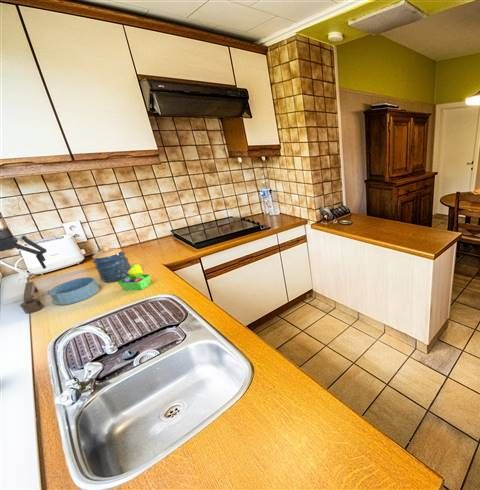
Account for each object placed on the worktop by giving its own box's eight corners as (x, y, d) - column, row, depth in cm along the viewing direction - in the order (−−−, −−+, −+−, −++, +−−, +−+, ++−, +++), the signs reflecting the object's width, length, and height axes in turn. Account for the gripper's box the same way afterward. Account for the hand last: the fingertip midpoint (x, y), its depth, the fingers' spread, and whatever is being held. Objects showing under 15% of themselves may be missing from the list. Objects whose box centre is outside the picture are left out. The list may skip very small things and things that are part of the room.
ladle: (27, 295, 130) (20, 284, 127) (44, 290, 134) (37, 279, 131) (24, 315, 115) (16, 303, 112) (44, 308, 119) (36, 297, 116)
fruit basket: (120, 291, 129) (110, 271, 124) (135, 282, 137) (126, 262, 132) (142, 291, 128) (133, 271, 124) (156, 281, 136) (148, 262, 132)
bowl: (55, 297, 127) (48, 287, 124) (98, 284, 137) (92, 274, 135) (55, 309, 117) (48, 298, 115) (101, 294, 128) (95, 283, 125)
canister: (129, 268, 152) (116, 240, 145) (137, 274, 145) (123, 244, 138) (99, 278, 142) (83, 249, 135) (106, 285, 135) (90, 254, 128)
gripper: (-60, 241, 101) (-25, 288, 110) (38, 223, 118) (62, 265, 126) (-56, 237, 106) (-22, 282, 114) (38, 220, 122) (61, 261, 131)
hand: (22, 273), depth 120 cm, fingers open, 13 cm apart
